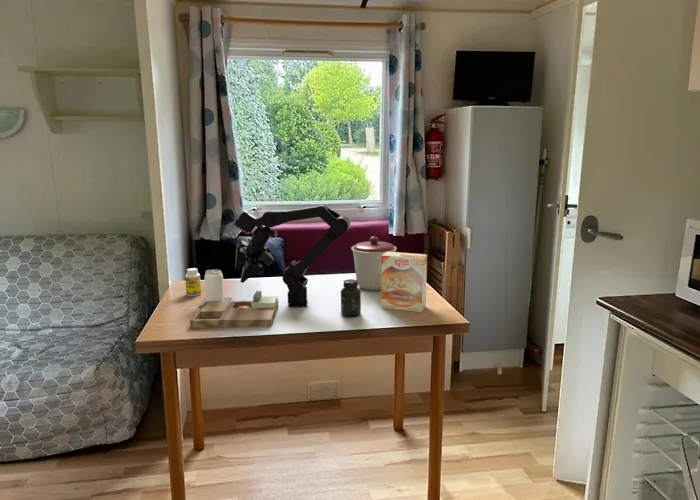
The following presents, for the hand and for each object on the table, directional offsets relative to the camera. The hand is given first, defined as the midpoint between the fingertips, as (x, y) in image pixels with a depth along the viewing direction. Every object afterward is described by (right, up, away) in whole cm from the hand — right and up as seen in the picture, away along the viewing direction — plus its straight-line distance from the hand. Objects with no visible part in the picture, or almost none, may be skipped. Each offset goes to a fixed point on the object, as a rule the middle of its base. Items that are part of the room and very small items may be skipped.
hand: (239, 275), depth 193 cm
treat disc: (+4, -12, -9) cm, 16 cm away
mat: (-9, -10, +1) cm, 14 cm away
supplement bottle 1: (-20, -8, +12) cm, 25 cm away
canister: (+51, -6, +20) cm, 55 cm away
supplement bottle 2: (+41, -13, -12) cm, 45 cm away
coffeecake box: (+60, -11, -5) cm, 61 cm away
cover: (+11, -10, -9) cm, 17 cm away
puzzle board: (+2, -13, -14) cm, 20 cm away
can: (-9, -10, 0) cm, 13 cm away
